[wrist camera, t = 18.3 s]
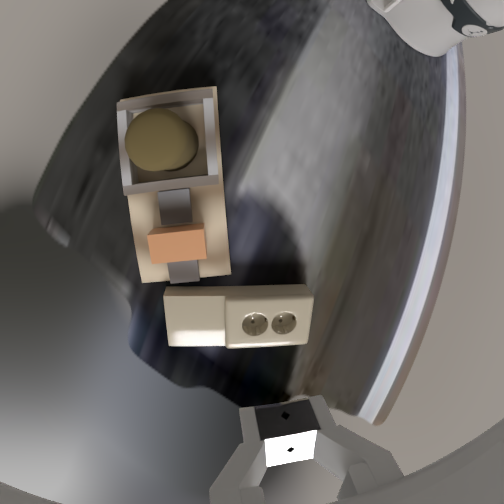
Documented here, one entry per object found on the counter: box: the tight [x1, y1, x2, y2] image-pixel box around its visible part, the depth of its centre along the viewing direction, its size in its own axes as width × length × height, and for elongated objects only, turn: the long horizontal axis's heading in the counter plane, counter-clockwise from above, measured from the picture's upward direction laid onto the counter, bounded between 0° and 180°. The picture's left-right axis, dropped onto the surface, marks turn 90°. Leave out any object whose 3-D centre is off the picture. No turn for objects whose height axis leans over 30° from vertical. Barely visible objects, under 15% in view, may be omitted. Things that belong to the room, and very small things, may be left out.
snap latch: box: [147, 223, 207, 264], centre depth 32 cm, size 3×6×3 cm, turn 94°
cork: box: [124, 108, 199, 172], centre depth 25 cm, size 6×6×11 cm
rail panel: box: [117, 86, 231, 284], centre depth 31 cm, size 22×11×4 cm, turn 4°
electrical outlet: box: [163, 284, 314, 348], centre depth 37 cm, size 7×4×18 cm
